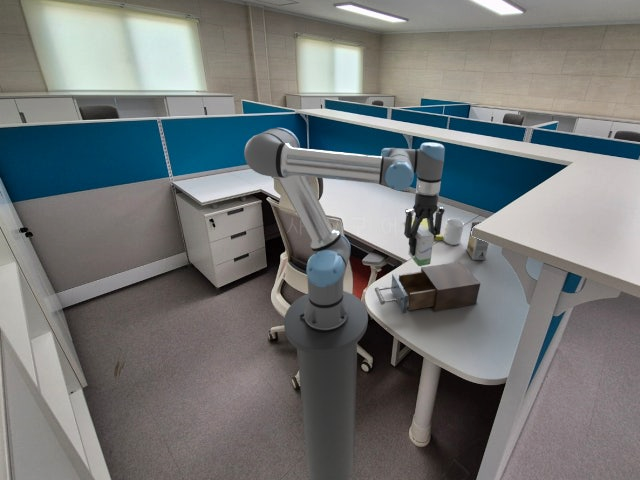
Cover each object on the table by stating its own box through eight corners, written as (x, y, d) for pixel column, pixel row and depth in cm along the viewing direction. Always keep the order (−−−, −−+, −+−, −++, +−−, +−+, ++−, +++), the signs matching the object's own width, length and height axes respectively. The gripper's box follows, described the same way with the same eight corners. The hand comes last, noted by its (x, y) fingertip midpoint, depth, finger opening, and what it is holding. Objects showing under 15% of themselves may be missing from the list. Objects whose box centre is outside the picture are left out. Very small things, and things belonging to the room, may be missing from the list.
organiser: (434, 311, 111) (437, 290, 107) (418, 286, 124) (421, 267, 120) (475, 303, 116) (480, 283, 112) (456, 280, 129) (460, 261, 125)
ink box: (430, 264, 106) (435, 235, 101) (418, 266, 104) (421, 236, 99) (419, 252, 113) (423, 224, 108) (407, 254, 112) (410, 225, 107)
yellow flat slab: (405, 222, 179) (421, 242, 158) (405, 219, 178) (422, 238, 157) (424, 220, 182) (442, 240, 161) (424, 217, 181) (443, 236, 160)
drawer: (382, 316, 106) (383, 299, 103) (372, 292, 118) (373, 276, 115) (444, 306, 113) (447, 289, 109) (428, 284, 124) (431, 268, 121)
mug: (463, 245, 157) (466, 226, 152) (447, 246, 155) (450, 227, 150) (453, 234, 167) (456, 216, 163) (438, 235, 166) (441, 217, 161)
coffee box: (465, 250, 152) (471, 221, 146) (478, 250, 153) (484, 221, 146) (472, 260, 144) (479, 230, 137) (485, 260, 145) (492, 230, 138)
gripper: (446, 186, 103) (437, 245, 113) (397, 189, 99) (392, 250, 108) (458, 194, 97) (447, 255, 107) (405, 197, 92) (399, 261, 102)
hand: (419, 252), depth 107 cm, fingers closed on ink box, 5 cm apart
